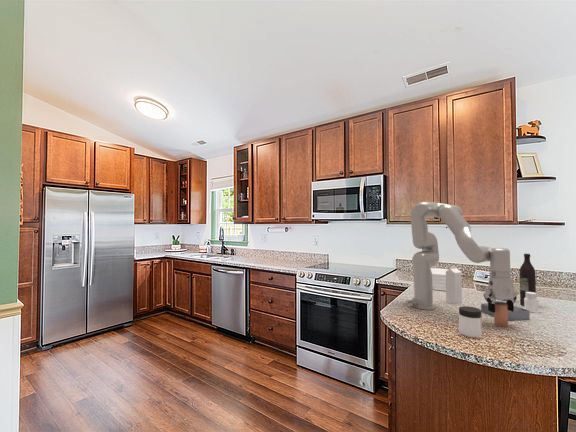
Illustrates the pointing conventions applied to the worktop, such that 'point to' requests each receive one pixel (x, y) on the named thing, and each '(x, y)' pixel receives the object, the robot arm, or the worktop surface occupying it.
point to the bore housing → (509, 313)
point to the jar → (470, 321)
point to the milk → (453, 286)
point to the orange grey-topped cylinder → (501, 314)
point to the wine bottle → (527, 278)
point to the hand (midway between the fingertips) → (500, 311)
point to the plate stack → (439, 278)
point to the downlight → (531, 302)
